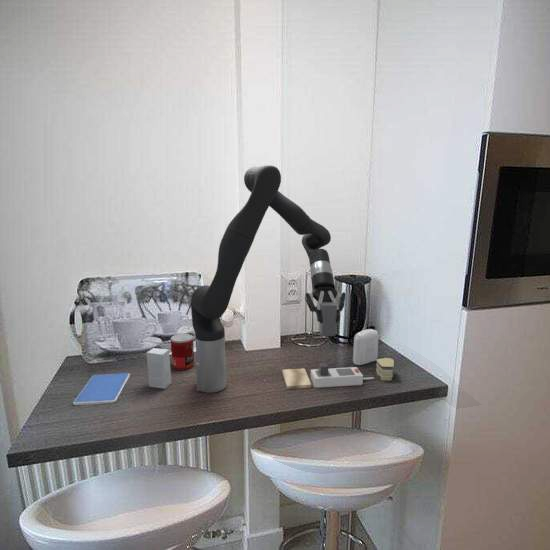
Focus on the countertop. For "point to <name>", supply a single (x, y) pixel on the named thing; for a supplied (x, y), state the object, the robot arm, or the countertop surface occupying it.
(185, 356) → the canned food
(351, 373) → the power strip
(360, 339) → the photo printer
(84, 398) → the tablet computer
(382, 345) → the countertop surface
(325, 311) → the block
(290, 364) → the countertop surface
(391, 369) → the yellow layered block
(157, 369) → the skincare box
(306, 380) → the board
